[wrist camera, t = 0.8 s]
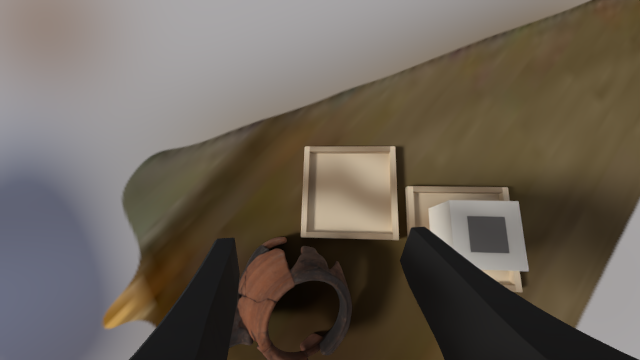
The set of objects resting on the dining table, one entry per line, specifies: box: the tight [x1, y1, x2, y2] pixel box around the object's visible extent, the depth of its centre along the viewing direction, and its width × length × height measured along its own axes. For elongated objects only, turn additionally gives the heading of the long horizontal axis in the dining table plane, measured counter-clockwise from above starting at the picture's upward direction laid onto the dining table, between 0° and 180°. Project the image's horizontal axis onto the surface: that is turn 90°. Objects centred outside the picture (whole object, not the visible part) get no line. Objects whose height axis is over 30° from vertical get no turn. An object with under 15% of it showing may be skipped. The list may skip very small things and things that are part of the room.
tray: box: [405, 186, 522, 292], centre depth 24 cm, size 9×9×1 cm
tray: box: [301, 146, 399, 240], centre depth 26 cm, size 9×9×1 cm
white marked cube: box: [428, 200, 529, 271], centre depth 22 cm, size 5×5×5 cm
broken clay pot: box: [229, 237, 352, 360], centre depth 22 cm, size 12×10×8 cm
